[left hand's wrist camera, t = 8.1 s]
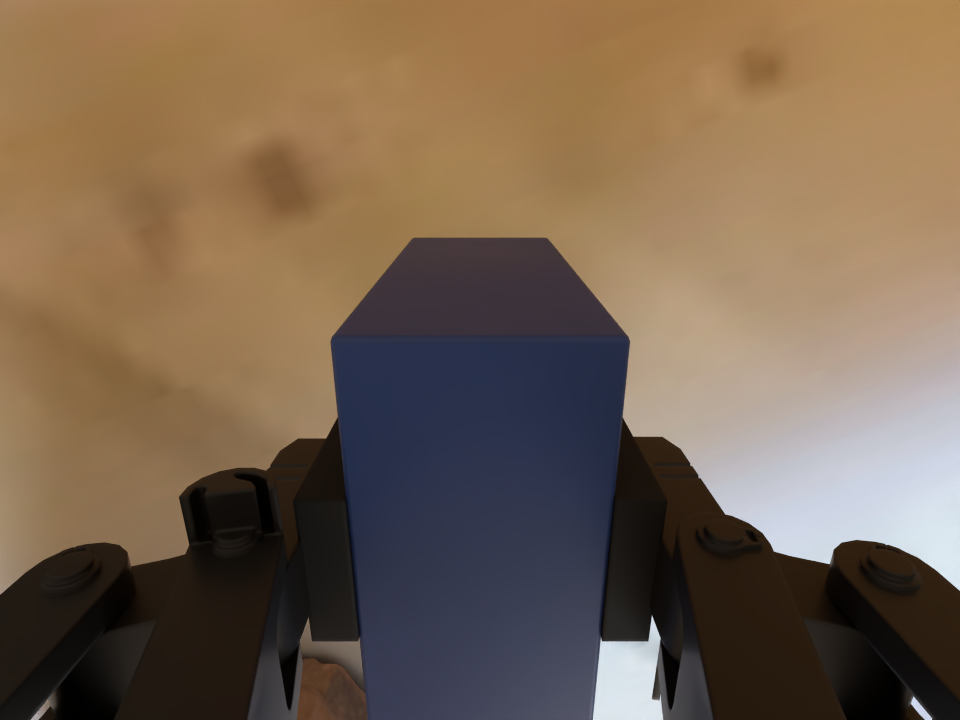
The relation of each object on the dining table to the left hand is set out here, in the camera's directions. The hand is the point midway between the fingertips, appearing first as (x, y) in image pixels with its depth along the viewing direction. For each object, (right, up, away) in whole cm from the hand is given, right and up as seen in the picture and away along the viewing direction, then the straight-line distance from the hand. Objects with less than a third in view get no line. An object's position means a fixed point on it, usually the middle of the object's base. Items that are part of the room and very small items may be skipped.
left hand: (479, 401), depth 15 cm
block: (0, +1, +3) cm, 3 cm away
